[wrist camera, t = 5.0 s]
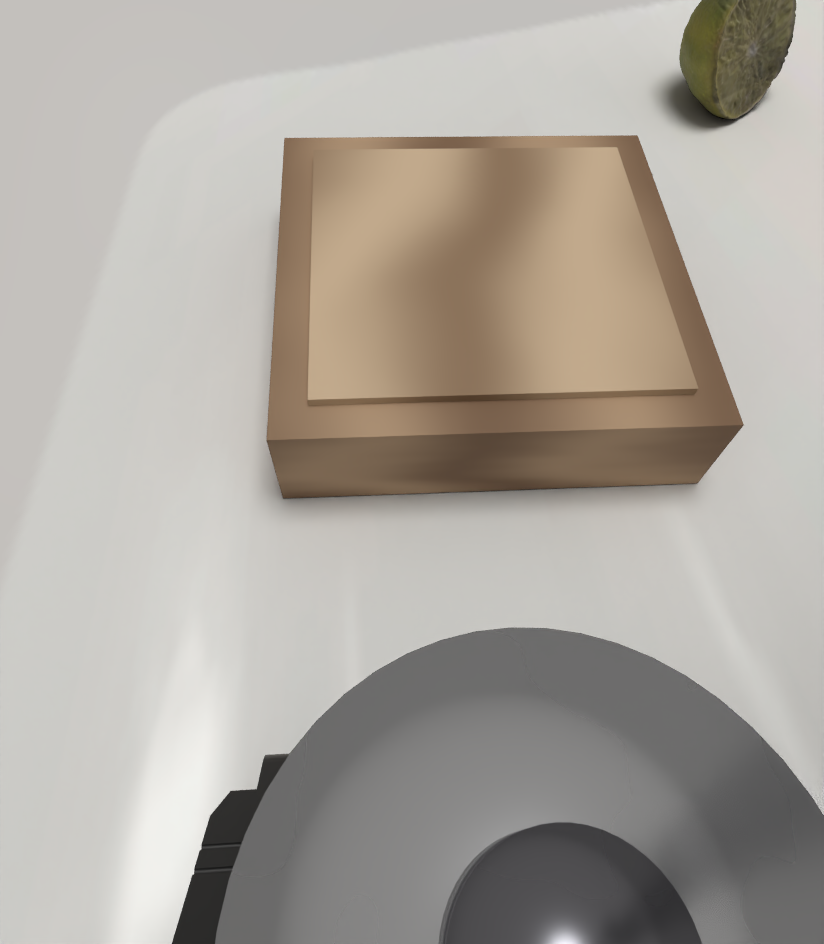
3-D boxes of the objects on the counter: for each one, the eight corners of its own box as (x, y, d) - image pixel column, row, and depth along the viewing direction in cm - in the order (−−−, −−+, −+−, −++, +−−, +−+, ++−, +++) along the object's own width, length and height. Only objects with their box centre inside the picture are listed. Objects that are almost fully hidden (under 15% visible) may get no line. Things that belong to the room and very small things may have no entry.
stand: (612, 209, 26) (639, 128, 23) (697, 483, 20) (748, 419, 17) (294, 213, 25) (283, 131, 22) (282, 498, 19) (265, 434, 16)
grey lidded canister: (566, 753, 16) (812, 589, 7) (617, 1075, 13) (1181, 1569, 4) (318, 768, 16) (218, 616, 6) (315, 1102, 13) (122, 1712, 3)
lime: (769, 82, 31) (831, -46, 26) (761, 144, 28) (828, 14, 24) (670, 62, 31) (714, -67, 27) (654, 121, 29) (701, -10, 25)
